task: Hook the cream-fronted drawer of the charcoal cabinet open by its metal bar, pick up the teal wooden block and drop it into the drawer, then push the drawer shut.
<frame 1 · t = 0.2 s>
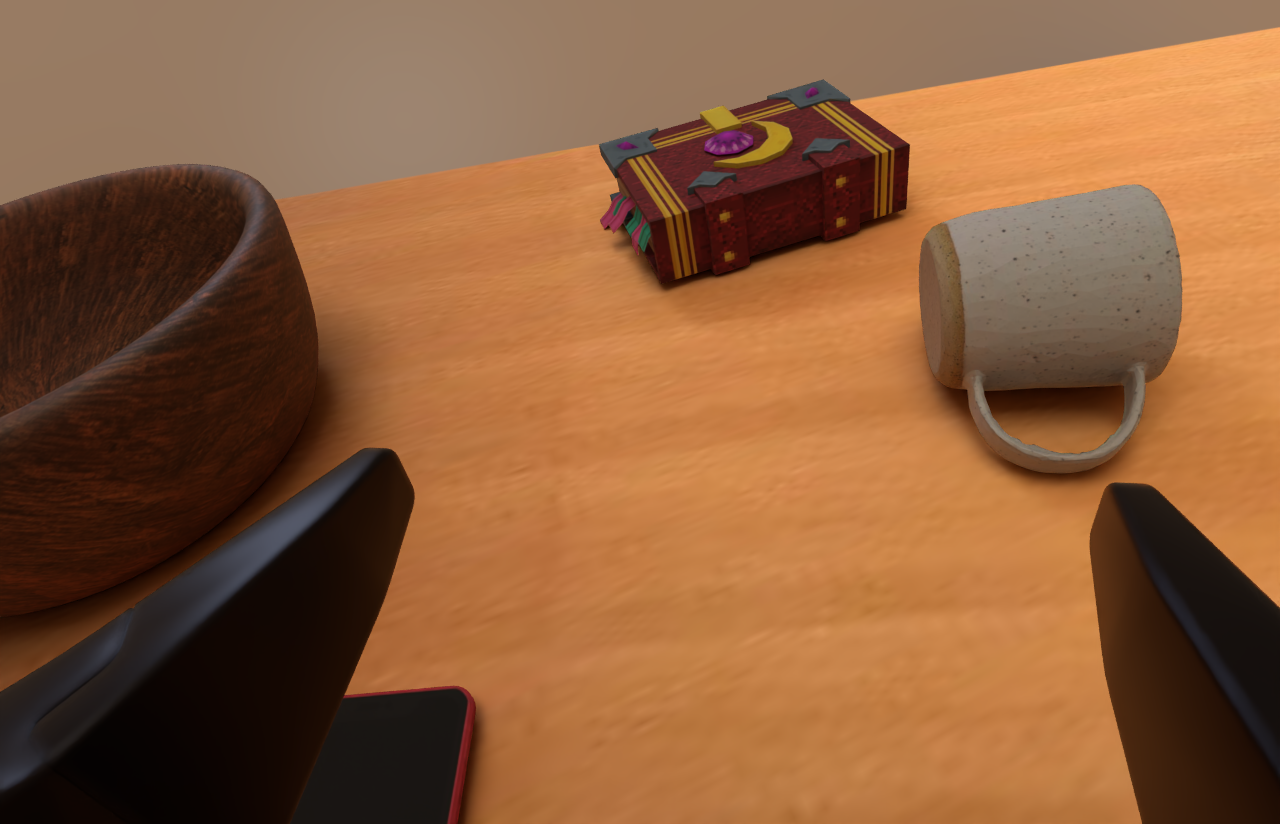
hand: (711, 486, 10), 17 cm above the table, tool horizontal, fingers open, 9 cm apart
ceramic mug: (1035, 390, 33), on the table
wooden bowl: (132, 459, 41), on the table
decorative book: (742, 218, 48), on the table
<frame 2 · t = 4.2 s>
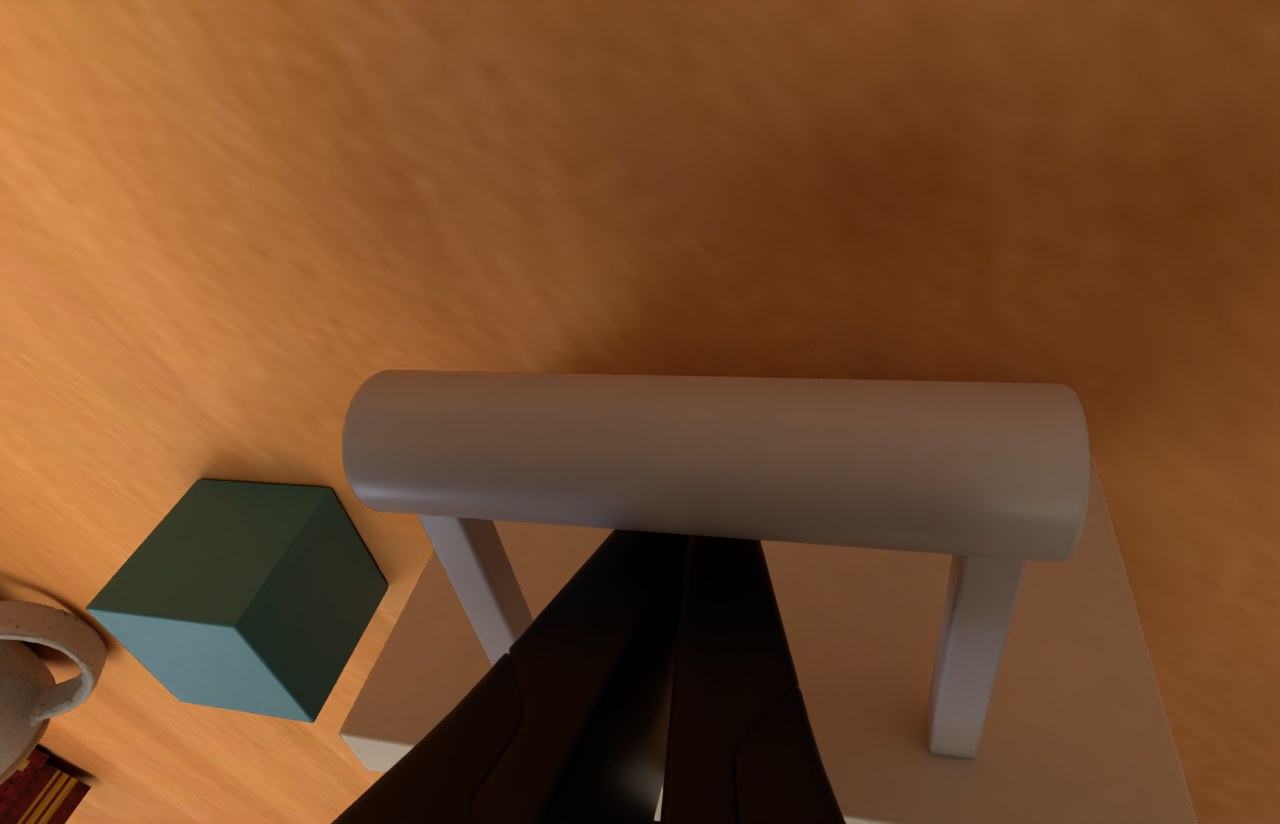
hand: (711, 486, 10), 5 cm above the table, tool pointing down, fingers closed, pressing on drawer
block: (297, 534, 23), on the table
ceramic mug: (2, 609, 32), on the table
drawer: (756, 705, 15), point 4 cm above the table, slide at 2.9 cm, touching gripper
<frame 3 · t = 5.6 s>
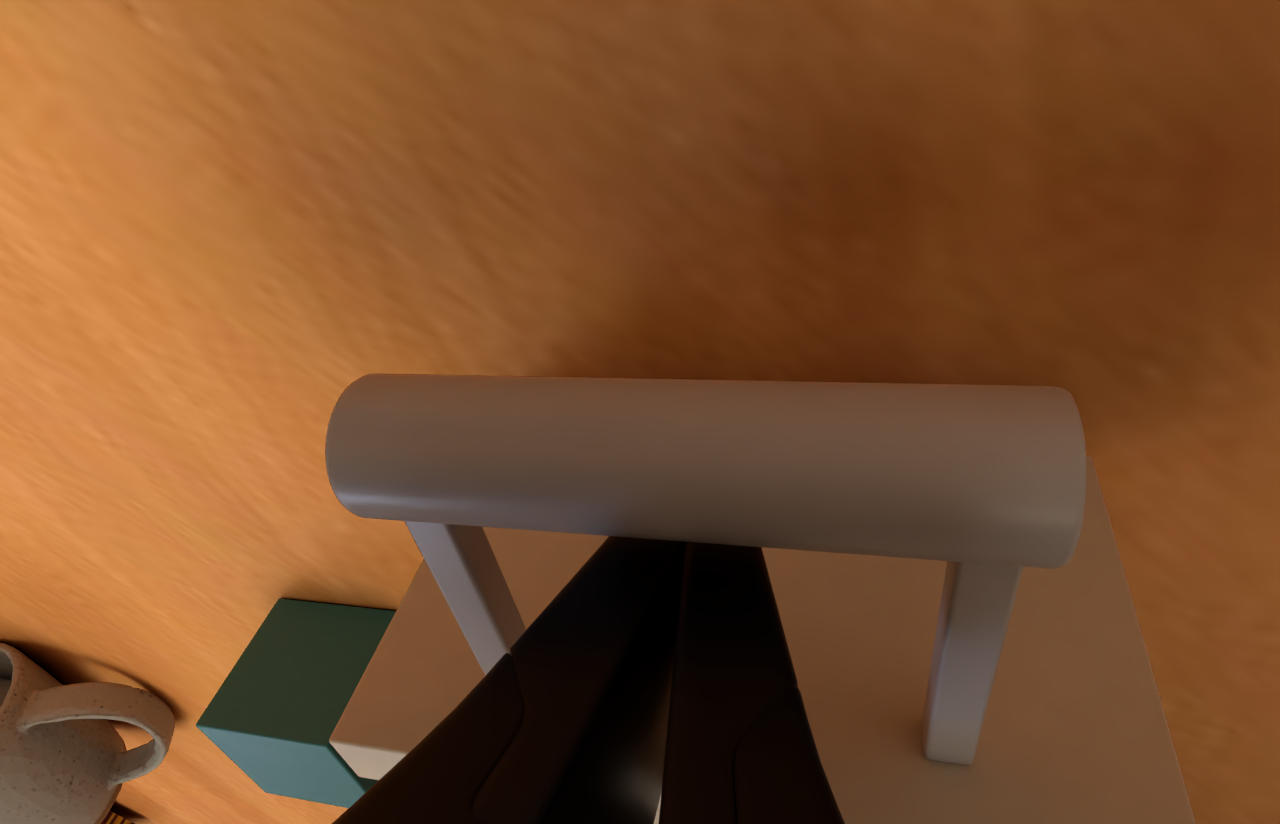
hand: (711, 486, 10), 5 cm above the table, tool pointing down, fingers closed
block: (363, 642, 26), on the table
ceramic mug: (79, 683, 36), on the table
drawer: (752, 708, 15), point 4 cm above the table, slide at 8.4 cm
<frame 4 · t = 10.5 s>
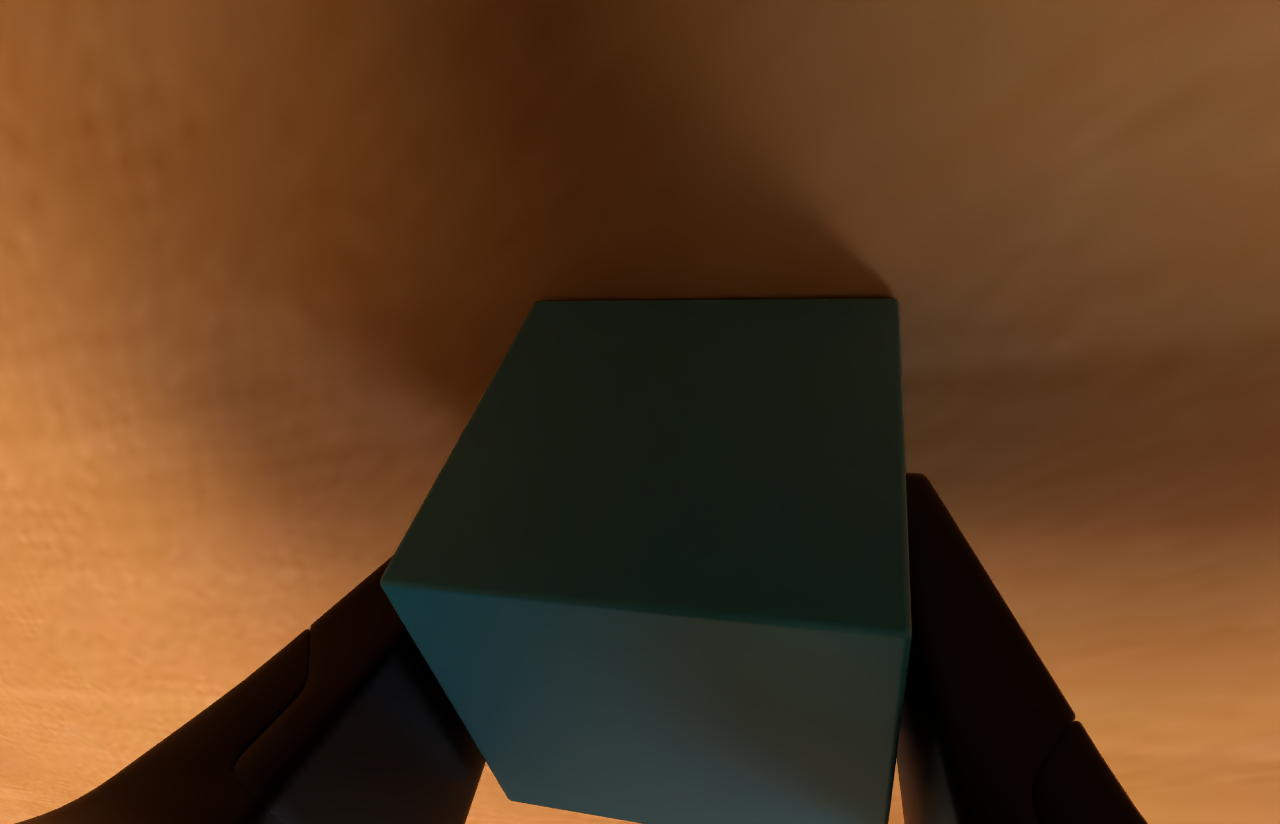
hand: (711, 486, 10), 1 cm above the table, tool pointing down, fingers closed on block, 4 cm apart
block: (721, 432, 11), on the table, touching gripper
when the fingers open (7 cm above the table, at t = 14.8 s): block drops 4 cm, resting on drawer.
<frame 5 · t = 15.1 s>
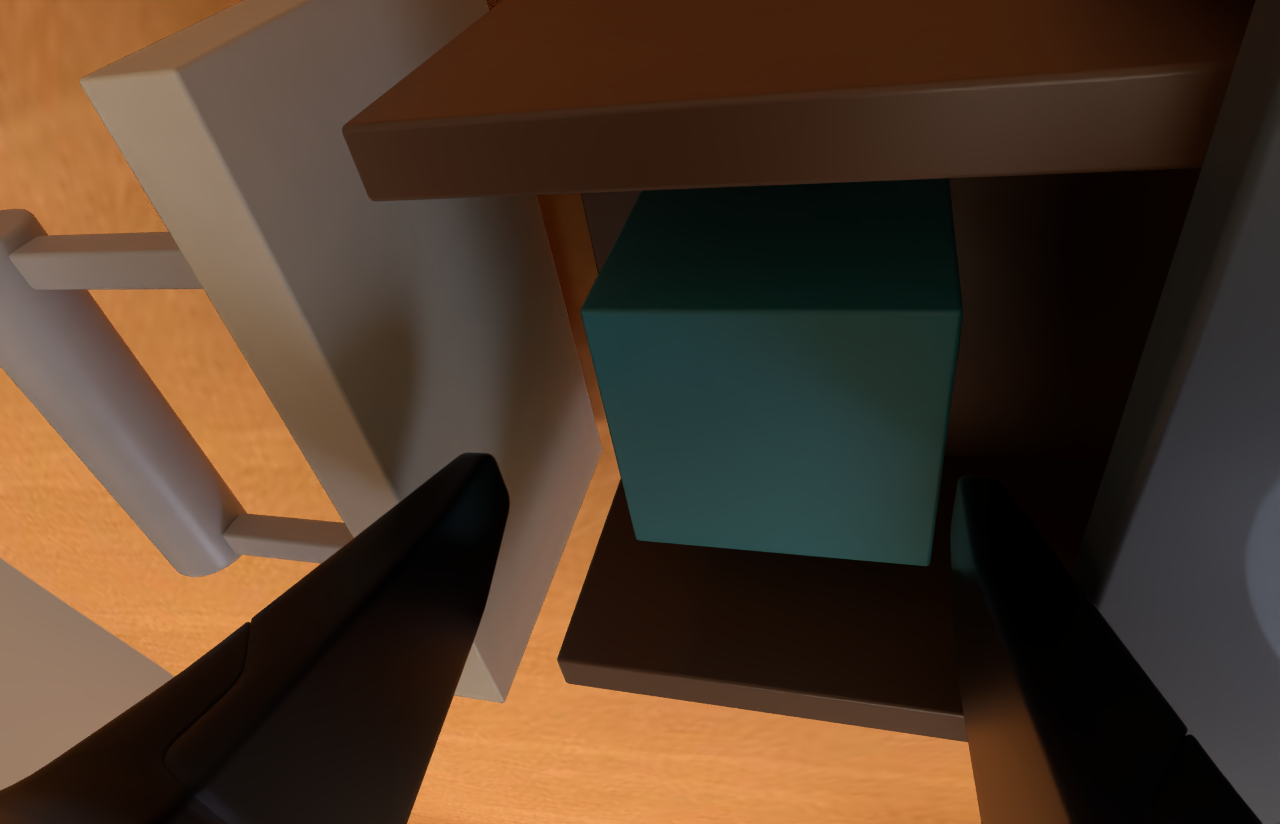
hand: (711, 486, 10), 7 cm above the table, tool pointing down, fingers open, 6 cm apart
block: (797, 272, 14), point 2 cm above the table, touching drawer
drawer: (637, 349, 13), point 4 cm above the table, slide at 8.4 cm, touching block
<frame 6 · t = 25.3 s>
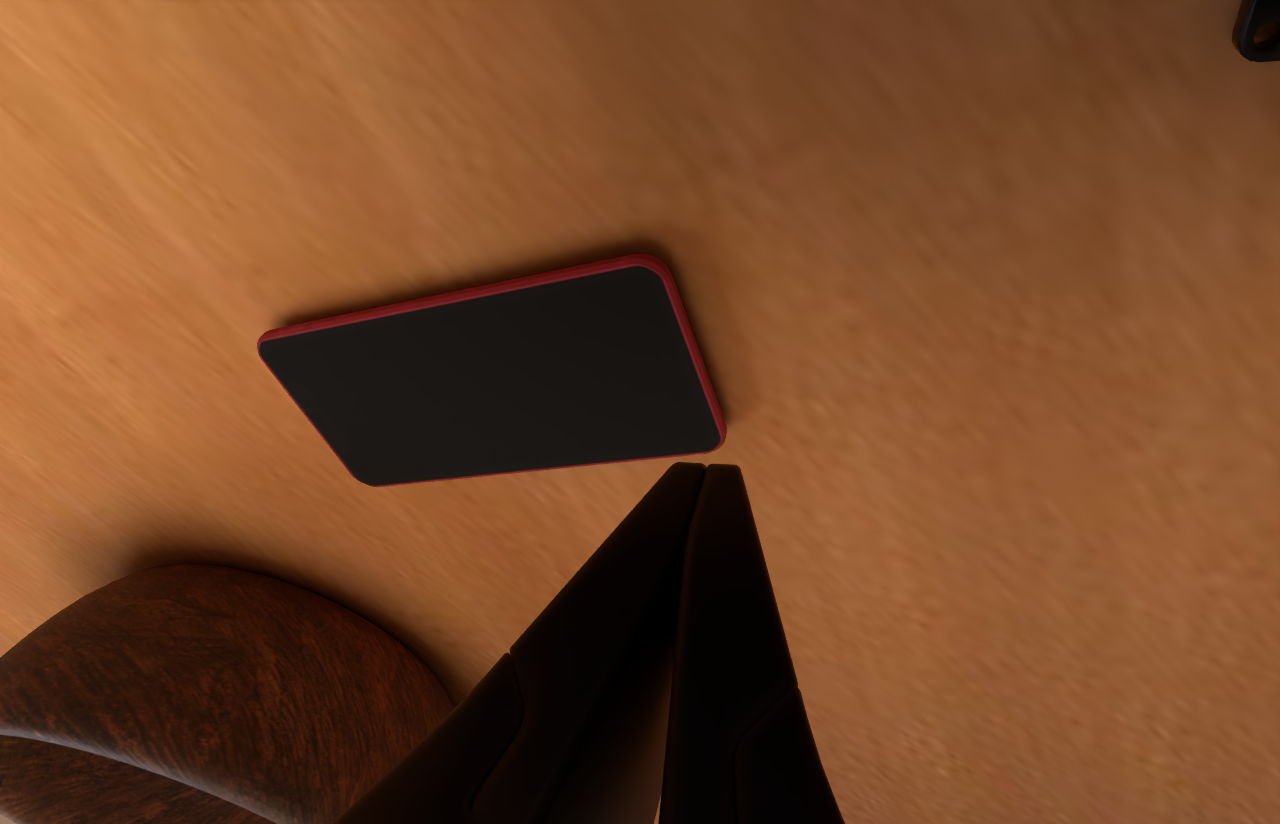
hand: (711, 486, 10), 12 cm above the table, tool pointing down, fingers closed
wooden bowl: (298, 662, 46), on the table
smartphone: (493, 374, 26), on the table
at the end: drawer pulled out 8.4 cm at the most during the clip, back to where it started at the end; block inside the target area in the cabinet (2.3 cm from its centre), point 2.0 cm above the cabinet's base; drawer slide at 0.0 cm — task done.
